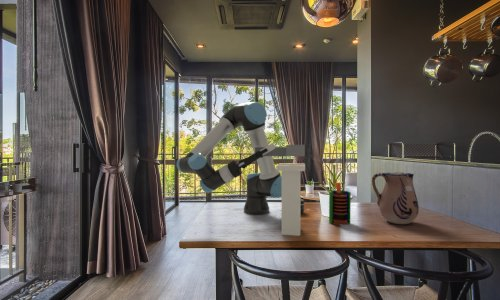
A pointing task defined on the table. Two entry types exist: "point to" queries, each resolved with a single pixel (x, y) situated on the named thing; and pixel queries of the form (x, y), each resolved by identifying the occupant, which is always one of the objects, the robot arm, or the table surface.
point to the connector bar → (285, 151)
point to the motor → (339, 206)
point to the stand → (291, 197)
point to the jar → (302, 206)
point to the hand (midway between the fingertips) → (274, 145)
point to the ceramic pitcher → (397, 197)
